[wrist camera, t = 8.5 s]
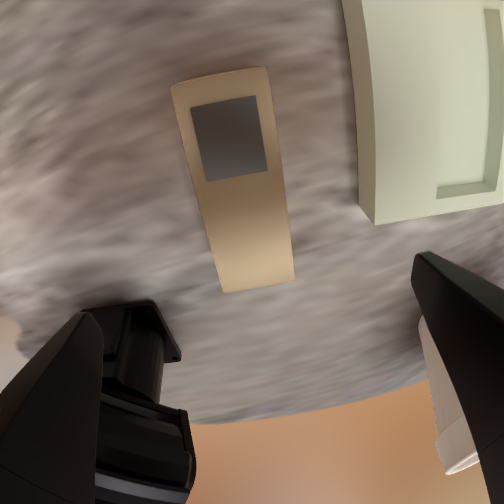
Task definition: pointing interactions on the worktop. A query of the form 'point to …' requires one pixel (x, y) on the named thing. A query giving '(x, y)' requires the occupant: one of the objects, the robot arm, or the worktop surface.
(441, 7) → the jig
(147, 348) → the robot arm
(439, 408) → the cup
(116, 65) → the worktop surface
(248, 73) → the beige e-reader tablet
